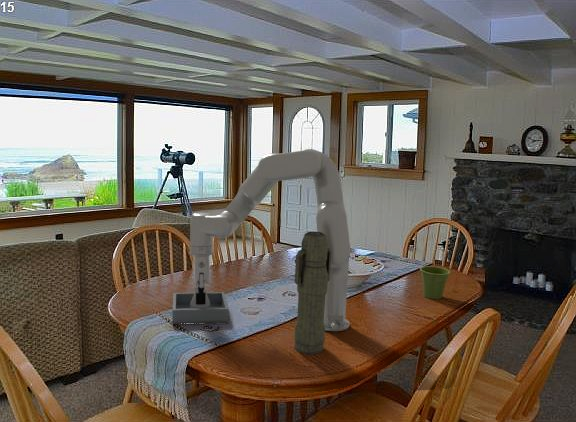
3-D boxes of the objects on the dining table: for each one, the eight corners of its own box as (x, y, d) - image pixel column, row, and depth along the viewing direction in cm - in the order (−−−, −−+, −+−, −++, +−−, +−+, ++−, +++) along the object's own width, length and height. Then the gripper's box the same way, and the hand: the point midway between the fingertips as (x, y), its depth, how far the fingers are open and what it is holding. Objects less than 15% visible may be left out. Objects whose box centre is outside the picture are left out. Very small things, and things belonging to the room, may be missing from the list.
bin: (228, 323, 172) (228, 308, 172) (172, 325, 169) (172, 310, 168) (223, 305, 190) (224, 292, 189) (173, 306, 186) (173, 292, 185)
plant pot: (412, 296, 212) (414, 269, 210) (426, 290, 220) (428, 264, 219) (439, 303, 204) (441, 275, 202) (452, 297, 212) (455, 270, 211)
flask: (206, 310, 175) (207, 282, 173) (186, 308, 176) (186, 279, 175) (213, 304, 182) (214, 276, 180) (194, 302, 183) (194, 274, 182)
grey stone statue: (283, 347, 155) (289, 232, 150) (312, 338, 163) (318, 228, 158) (304, 358, 148) (310, 237, 143) (333, 348, 156) (340, 233, 151)
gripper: (214, 255, 168) (212, 309, 171) (211, 244, 185) (209, 293, 188) (190, 255, 167) (189, 310, 170) (189, 244, 183) (188, 294, 186)
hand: (200, 300), depth 179 cm, fingers closed on flask, 4 cm apart
